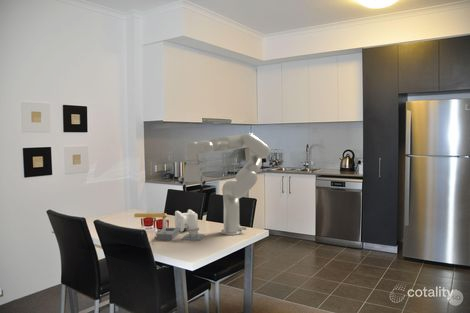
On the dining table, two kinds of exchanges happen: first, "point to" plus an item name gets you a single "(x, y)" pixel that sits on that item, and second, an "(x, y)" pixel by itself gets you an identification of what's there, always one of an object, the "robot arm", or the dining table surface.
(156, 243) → the dining table surface
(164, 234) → the grey stand
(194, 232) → the plug
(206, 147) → the robot arm
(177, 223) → the cable organizer
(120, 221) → the dining table surface
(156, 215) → the clip
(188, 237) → the mat
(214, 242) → the dining table surface
